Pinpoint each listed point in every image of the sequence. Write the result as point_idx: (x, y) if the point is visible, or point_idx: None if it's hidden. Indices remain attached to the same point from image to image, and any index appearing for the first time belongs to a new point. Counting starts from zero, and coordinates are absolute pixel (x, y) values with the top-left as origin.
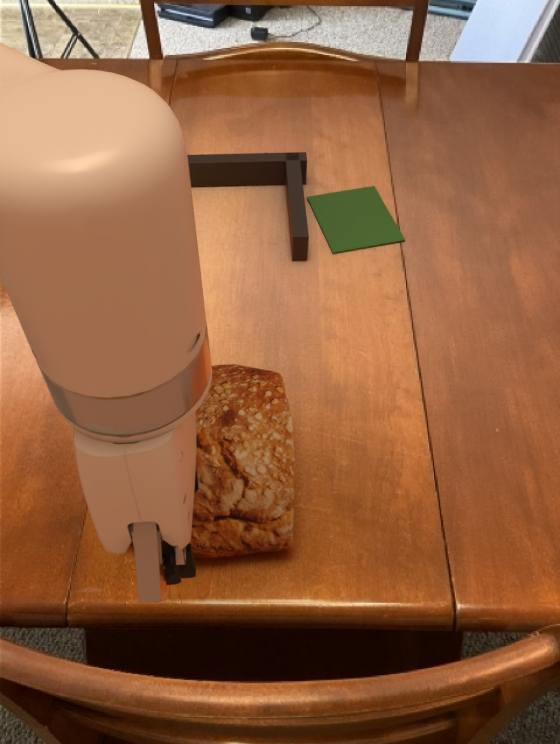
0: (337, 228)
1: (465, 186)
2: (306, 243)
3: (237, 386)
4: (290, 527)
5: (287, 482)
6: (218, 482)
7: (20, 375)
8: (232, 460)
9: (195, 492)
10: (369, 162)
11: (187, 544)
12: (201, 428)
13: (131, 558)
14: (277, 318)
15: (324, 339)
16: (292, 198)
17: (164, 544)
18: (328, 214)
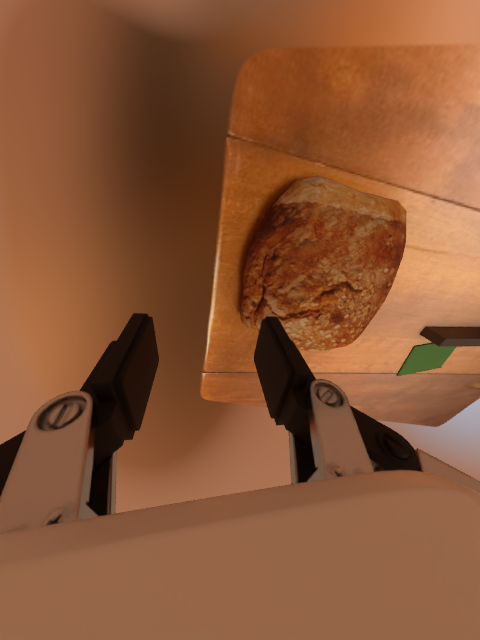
0: (428, 350)
1: (407, 397)
2: (433, 342)
3: (360, 320)
4: (249, 326)
5: None
6: (287, 301)
7: None
8: (300, 316)
9: (254, 359)
10: (456, 366)
11: (130, 436)
12: (337, 297)
13: (257, 204)
14: (392, 315)
15: (363, 337)
16: (473, 340)
17: (97, 451)
18: (441, 347)
